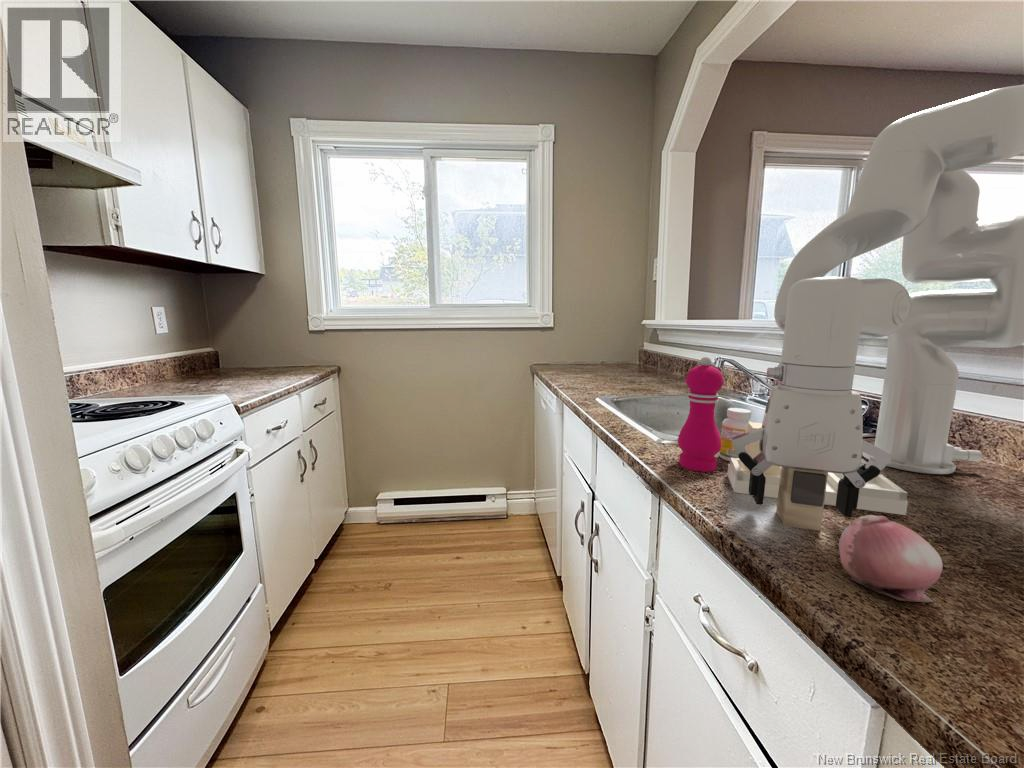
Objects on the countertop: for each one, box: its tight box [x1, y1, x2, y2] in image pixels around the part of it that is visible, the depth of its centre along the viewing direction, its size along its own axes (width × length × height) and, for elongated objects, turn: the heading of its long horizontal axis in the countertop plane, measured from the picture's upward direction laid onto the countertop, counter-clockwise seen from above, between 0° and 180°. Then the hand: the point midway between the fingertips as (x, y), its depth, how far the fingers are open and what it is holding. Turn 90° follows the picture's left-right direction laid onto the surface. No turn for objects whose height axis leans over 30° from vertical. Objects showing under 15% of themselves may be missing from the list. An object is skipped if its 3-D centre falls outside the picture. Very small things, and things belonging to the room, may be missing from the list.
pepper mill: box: [677, 356, 724, 473], centre depth 74 cm, size 7×7×20 cm
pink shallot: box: [838, 514, 944, 604], centre depth 41 cm, size 8×8×7 cm
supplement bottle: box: [718, 407, 752, 462], centre depth 79 cm, size 5×5×10 cm
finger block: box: [775, 467, 828, 532], centre depth 54 cm, size 5×4×8 cm
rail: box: [727, 421, 909, 516], centre depth 63 cm, size 21×8×10 cm, turn 70°
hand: (798, 506), depth 54 cm, fingers open, 9 cm apart
